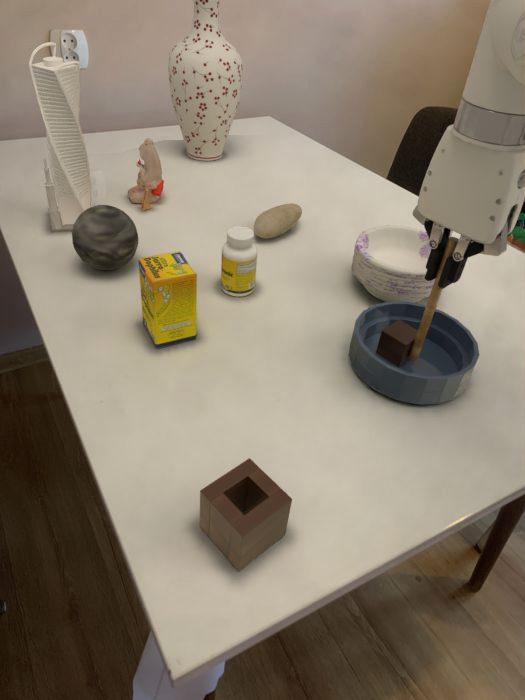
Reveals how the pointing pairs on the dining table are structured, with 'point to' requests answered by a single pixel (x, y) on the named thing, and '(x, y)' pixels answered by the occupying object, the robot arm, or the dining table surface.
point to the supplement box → (168, 298)
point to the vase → (205, 83)
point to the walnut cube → (396, 342)
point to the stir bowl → (433, 362)
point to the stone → (277, 220)
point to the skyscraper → (62, 139)
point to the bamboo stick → (431, 302)
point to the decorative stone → (105, 237)
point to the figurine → (147, 177)
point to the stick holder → (256, 501)
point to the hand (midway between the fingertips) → (440, 279)
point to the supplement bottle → (239, 262)
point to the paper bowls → (393, 263)
